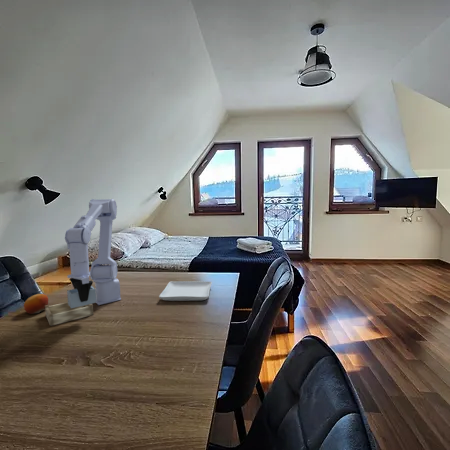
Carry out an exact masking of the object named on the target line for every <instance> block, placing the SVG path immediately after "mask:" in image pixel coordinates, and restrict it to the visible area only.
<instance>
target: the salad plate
mask: <svg viewBox="0 0 450 450" xmlns="http://www.w3.org/2000/svg"><path fill="white" fill-rule="evenodd" d="M212 283H213V282H212V281H197V280H195V281H190V280H189V281H188V280H185V281H183V280H182V281H175V280H174V281H172V280H171V281H169V282H168V283H167V284H166V287H165V288H164V289H163V290H162V292H161V293H160V294H159V295H158V298H159V299H160V300H163V301H168V302H169V301H172V302H175V301H176V302H184V301H185V302H187V301H189V302H190V301H192V302H194V301H197V302H199V301H204V300H207V299H208V298H209V296H210V291H211V286H212Z"/></svg>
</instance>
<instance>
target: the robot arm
mask: <svg viewBox="0 0 450 450" xmlns="http://www.w3.org/2000/svg"><path fill="white" fill-rule="evenodd" d="M117 208H118V205H117V202H116V200H115V199H114V198H105V199H104V198H101V199H100V198H99V199H96V198H91V199H90V201H89V202H88V211H87V213H86V214H85V215H81V216H80V217H79V219H78V220H77V222H76V223H75V225H74V226H73V227H69V228H68V229H67V230H66V232H65V233H64V234H65V235H64V240H65V242H66V245H67V247H66V248H67V249H68V250H69V262H70V274H68V275H67V277H66V278H67V279H68V280H69V281H70V282H71V284H72V286H73V289H77V290H78V294H79V298H80V301H81V302H84V301H88V296H89V291H90V288H91V286H93V283H94V284H95V285H94V286H95V290H96V304H97V306H100V305H105V304H110V303H113V302H116V301H121V300H122V297H121V284H120V281H119V279H118V278H117V277H118V264H117V261H116V260H114V259H113V258H112V257H111V256H112V255H111V253H112V250H111V249H112V235H113V233H112V232H113V222H114V220H115V219H116V218H117V214H118V213H117V212H118V209H117ZM96 220H97V221H99V223H100V225H99V239H98V253H97V258H96V259H95V260H93V261H92V263H91V266H90V264H89V263H90V260H89V248H88V246H89V243H90V242H91V241H90V240H91V235H92V231H93V229H94V228H95V226H96V224H97V222H96ZM90 279H91V280H90Z"/></svg>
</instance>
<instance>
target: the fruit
mask: <svg viewBox="0 0 450 450" xmlns="http://www.w3.org/2000/svg"><path fill="white" fill-rule="evenodd" d="M46 305H48V306H49V297H48V295H46V294H44V293H37V294H34V295H31V296H30V297H28V298H27V299H26V300H25V301H24V303H23V309H24V311H25V312H26V313H28V314H29V315H30V314H31V315H32V314H33V315H34V314H40V312H42V311H44V310H45V306H46Z"/></svg>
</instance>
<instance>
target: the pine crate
mask: <svg viewBox="0 0 450 450" xmlns="http://www.w3.org/2000/svg"><path fill="white" fill-rule="evenodd" d="M93 304H94V303H92V304H88V305H84V306H80V307H75V308H71V307H70V306H69V305H68V301H67V302H62V303H58V304H53V305H49V304H48V305H46V306H45V317H46V319H47V321H48V324H49V326H55V325H60V324H64V323H67V322H70V321H71V322H72V321H75V320H79V319H82V318H85V317H91V316H94V305H93Z"/></svg>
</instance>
